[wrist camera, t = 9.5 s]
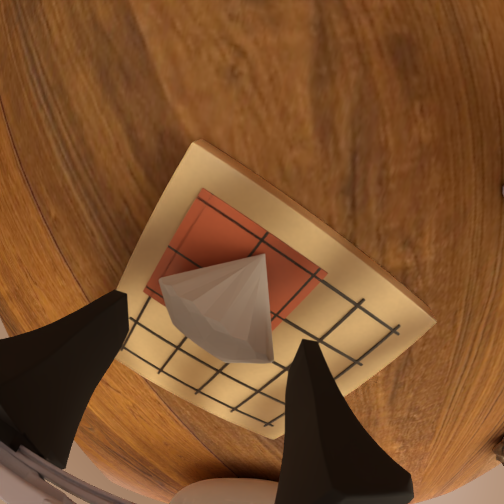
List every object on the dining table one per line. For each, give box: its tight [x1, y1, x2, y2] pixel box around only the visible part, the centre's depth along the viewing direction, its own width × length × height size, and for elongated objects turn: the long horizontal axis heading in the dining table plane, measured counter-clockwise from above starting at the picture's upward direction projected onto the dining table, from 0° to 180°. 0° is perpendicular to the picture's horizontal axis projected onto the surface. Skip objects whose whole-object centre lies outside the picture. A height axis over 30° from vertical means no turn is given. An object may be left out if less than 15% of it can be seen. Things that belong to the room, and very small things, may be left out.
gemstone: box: [159, 253, 274, 364], centre depth 14 cm, size 6×6×5 cm
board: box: [114, 139, 437, 440], centre depth 18 cm, size 16×16×2 cm
